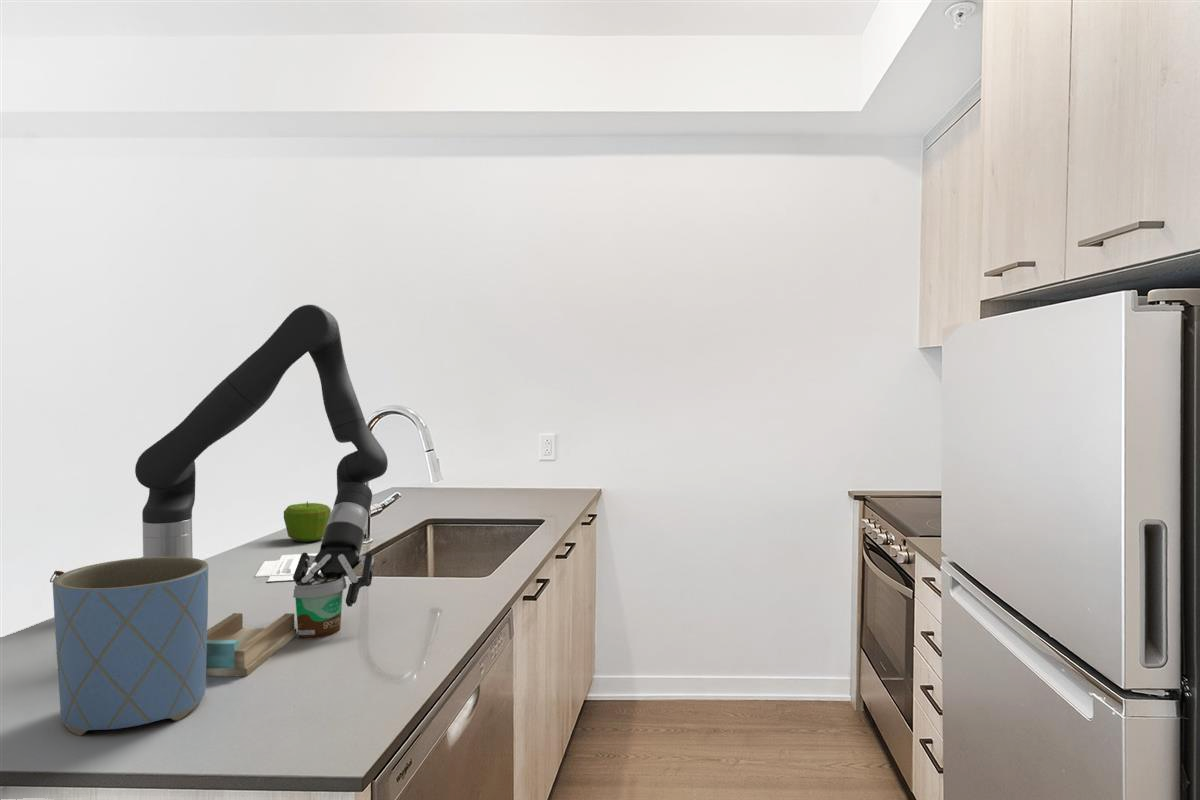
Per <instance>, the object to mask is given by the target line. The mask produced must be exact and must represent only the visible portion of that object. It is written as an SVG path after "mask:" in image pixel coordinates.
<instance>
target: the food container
mask: <svg viewBox="0 0 1200 800" xmlns="http://www.w3.org/2000/svg"><path fill="white" fill-rule="evenodd" d="M347 586H348V585H347V582H346V578H345V577H343V575H342V577H334V578H326V577H324V578H322V579H317V580H313V581H312V582H310V583H309V584H307V585H306V586H297V585H294V589H293V594H292V595H293V596H292V597H293V598H295V611H296V622H297V624H296V625H297V637H298V639H299V640H314V639H321V638H326V637H330V636H333V635H335V634H337V633H339V631H340V630H341V623H342V622H341V620H342V609H343V608H342V606H343V596H344V595H343V594H344V590H345V589H346V588H347Z"/></svg>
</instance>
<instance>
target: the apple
mask: <svg viewBox="0 0 1200 800" xmlns="http://www.w3.org/2000/svg"><path fill="white" fill-rule="evenodd" d="M331 512H332V508H331V507H330V506H328V505H327V504H323V503H318V502H316V503H315V502H310V503H309V502H308V501H306V502H305V503H296V504H294V503H293V504H290V505H288V506H287V507H286V508H285V510H283V521H284V523H285V529H286V531H287V532H286V533H287V537H289V538H290V539H292V540H293V541H295V540H296V541H295V542H302V543H304V542H305V543H307V542H308V543H309V542H316V541H319V540H321V539H323V536H324V533H325V530H326V526H327V523H328V519H329V516H330V514H331Z"/></svg>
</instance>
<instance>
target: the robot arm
mask: <svg viewBox="0 0 1200 800" xmlns="http://www.w3.org/2000/svg"><path fill="white" fill-rule="evenodd" d="M340 331H341V330H340V327H339V323H338V320H337V319H336V317H335V316H334V315H333V314H332V313H330V312H329V311H327V310H326V309H324V308H322V307H320V306H318V305H316V304H303V305H301V306H299V307H297V308H295V309H294V310H293V311H291V313H290V314H288V316H287V317H286V318H285V319H284V320H283V322H282V323H281V324H280V325H279V326H278V327H277V329H276V330H275V331H274V332H273V333H272V334H271V335H270V337H268V338H267V340H266V341H265V342H263V344H262V345H261V346H260V347H259V348H257V349H256V350H255V351H254V352H253V353H252V354H250V356H248V357H247V358H246V359H244V361H242V362H241V363H240V365H239V366H237V367H236V368H235V369H234V370H233V371H232V372H230V373H229V374H228V375H227V376H226V377H224V379H223V380H221V382H220V383H218V384H217V385H216V386H215V387H214V388H213V390H211V391H210V392H209V393H208V394H207V395H206V396H205V397H204V398H203V399H202V400H201V401H200V402H199V403H198V404H197V405H196V406H195V407H194V408H193V409H192V410H191V412H190V413H189V414H188V415H187V416H186V417H185V418H184V419H183V420H182V421H181V422H180V423H179V424H178V425H177V426H176V427H174V428H173V429H172V430H170V431H169V432H168V433H166V435H164V436H163V437H161V438H160V439H159V440H158V441H156V442H155V443H154V444H152V445H151V446H149V447H148V448H146V449H145V450H144V451H143V452H142V453H141V454H140V455H139V456H138V459H137V460H136V463H135V469H134V473H135V478H136V479H137V481H138V483H139V484H140V485H142V486H143V487H145V488H146V489H149V490H148V497H147V500H146V503H145V505H144V507H143V508H142V515H141V516H142V556H141V557H140V558H146V557H188V558H193V508H194V505H195V501H196V477H197V476H196V473H197V472H196V462H195V460H196V459H198V457H199V456H200V455H201V454H202V453H204V452H205V450H207V449H208V448H209V447H211V445H213V444H215V443H216V442H218V441H219V440H221V439H222V438H224V437H225V436H227V435H228V434H230V433H232V432H233V431H235V430H236V429H237V428H238V427H240V426H241V425H243V423H245V422H247V420H249V419H250V418H251V417H252V416H253V415H254V414H256V412H257V411H259V409H260V408H262V407H263V406H264V405H265V404H266V402H268V400H269V399H270V398H271V396H272V394H273V393H274V392H275V390H276V388H277V387H278V385H279V383H280V381H281V379H282V378H283V377H284V375H285V374H286V372H287V371H288V370H289V369H290V367H292V365H294V364H295V363H296V362H297V361H298V360H299V359H301V358H302V357H303V356H304V355H305V354H307V353H308V354H309V356H310V357H311V359H312V361H313V363H314V365H315V367H316V371H317V374H318V376H319V380H320V381H319V382H320V386H321V392H322V393H321V395H322V400H323V406H324V410H325V413H326V417H327V419H328V421H329V424H330V427H331V430H332V434H333V436H334V438H335V440H336V441H337V442H338V443H339V444H342V443H343V444H345V443H352V444H353V445H354V447H355V448H356V449H357V450H355V451H353V452H350V453H348V454H346V455H344V456H343V457H342V458H341V460H340V461H339V463H338V464H337V468H336V488H337V493H336V497H335V500H334V504H333V508H332V509H331V514H330V516H329V519H328V523H327V526H326V530H325V533H324V536H323V538H322V541H321V544H320V548H319V551H318V552H317V553H318V554H317V555H316V556H310V555H308V554H309V553H307V552H303V553H301V554H302V555H301V557H300V560H299V562H298V565H297V568H296V570H295V573H294V576H293V579H294V580H293V581H294V583H295V586H306V585H307V584H309V583H310V582H312V581H313V580H317V579H322V578H324V577H326V578H334V577H342V575H343V577H344V578H345V577H346V576H347V578H348V580H349V581H350V583H349V586H348V590H347V594H346V597H345V604H346V606H347V607H348V608H349V607H353V605H354V604H356V602H357V600H358V596H359V591H360V589H361V588H363V587H370V586H372V580H373V575H374V574H373V573H374V568H375V559H374V556H373V554H372V552H367V553H366V554H365V555H360V554H361V551H362V546H363V543H364V539H365V538H364V537H365V535H366V532H367V528H368V527H367V526H368V520H369V519H368V518H369V513H370V510H371V509H370V508H371V506H372V505H371V504H372V501H373V491H372V489H371V488H370V487H369V486H368V485H366V483H368V482H370V481H373V480H376V479H378V478H380V477H382V476H383V475H385V473H386V472H387V470H388V466H389V465H388V462H389V461H388V457H387V453H386V452H385V450H384V448H383V447H382V445H381V444H380V442H379V441H378V440H377V438H376V437H375V436H374V434H373V432H372V431H371V430H370V428H369V427H368V425H367V423H366V419H365V416H364V414H363V410H362V408H361V405H360V402H359V400H358V397H357V394H356V391H355V389H354V386H353V383H352V380H351V377H350V375H349V374H350V373H349V370H348V368H347V364H346V359H345V355H344V354H345V353H344V350H343V343H342V339H341V338H342V337H341V332H340ZM315 562H316V563H317V564H316V565H315V566H314V567H313V568H312V569H311V570H310V572H309V573H308V574H307V571H308V568H310V567H311V566H312V564H313V563H315ZM360 563H361V565H362V567H363V569H362V575H361V576H359V577H358V576H357V574H356V573H355V571H354V569H355V568H356V567H358V566H359V564H360ZM319 571H321V572H320V573H319V574H318V572H319ZM306 574H307V575H306Z"/></svg>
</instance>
